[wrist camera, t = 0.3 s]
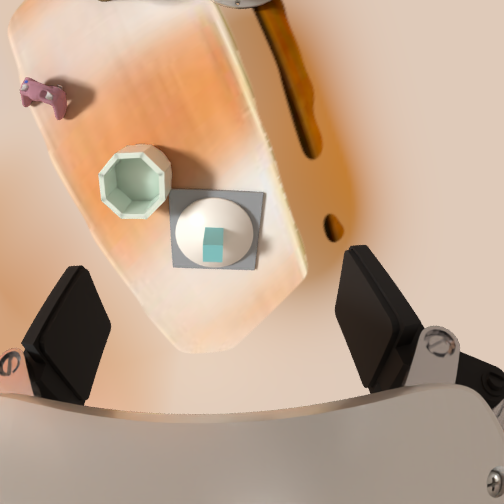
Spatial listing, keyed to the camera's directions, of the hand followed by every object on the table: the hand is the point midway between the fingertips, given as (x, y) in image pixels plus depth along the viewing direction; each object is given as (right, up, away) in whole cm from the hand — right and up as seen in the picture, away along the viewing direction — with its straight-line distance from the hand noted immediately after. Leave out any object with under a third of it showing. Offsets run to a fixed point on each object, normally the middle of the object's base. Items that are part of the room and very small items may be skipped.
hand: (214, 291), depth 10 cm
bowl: (-16, +14, +32) cm, 38 cm away
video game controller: (-32, +27, +23) cm, 47 cm away
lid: (-5, +5, +38) cm, 39 cm away
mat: (-5, +5, +39) cm, 39 cm away
